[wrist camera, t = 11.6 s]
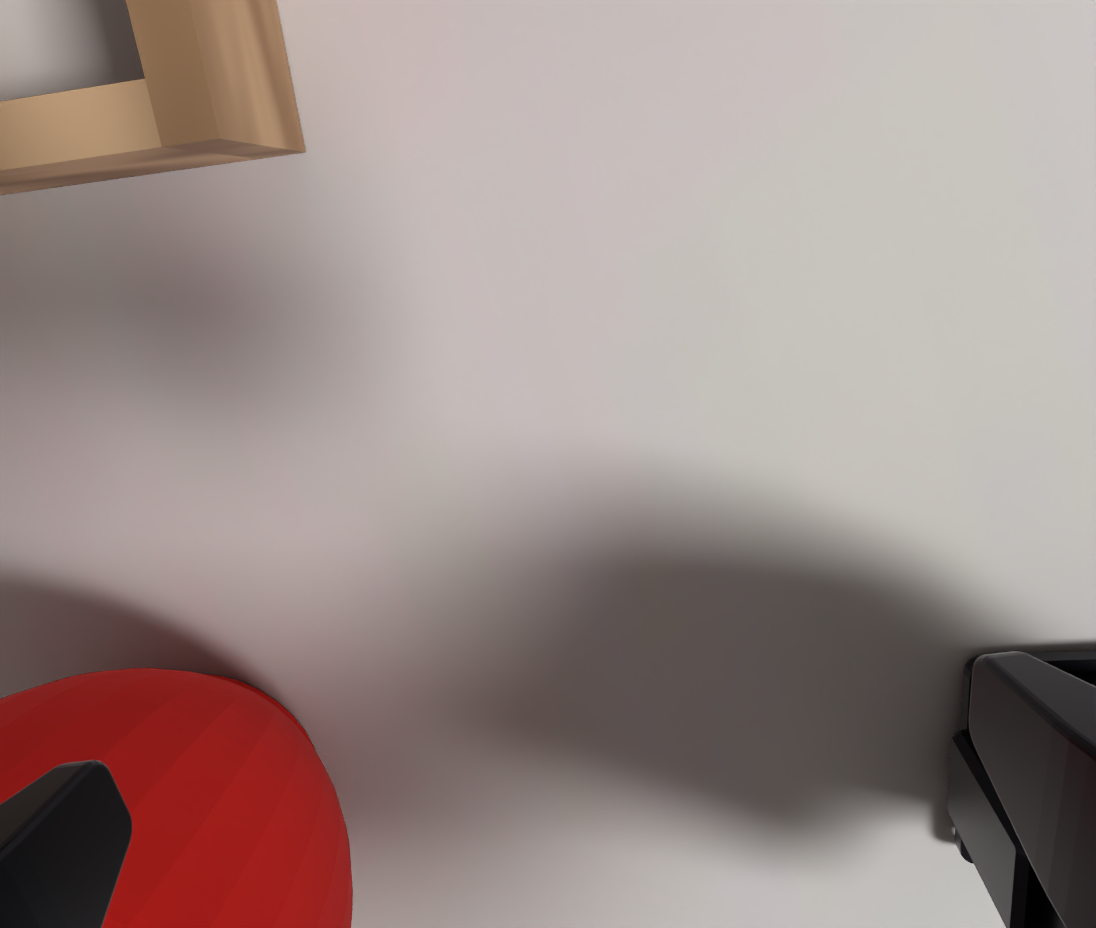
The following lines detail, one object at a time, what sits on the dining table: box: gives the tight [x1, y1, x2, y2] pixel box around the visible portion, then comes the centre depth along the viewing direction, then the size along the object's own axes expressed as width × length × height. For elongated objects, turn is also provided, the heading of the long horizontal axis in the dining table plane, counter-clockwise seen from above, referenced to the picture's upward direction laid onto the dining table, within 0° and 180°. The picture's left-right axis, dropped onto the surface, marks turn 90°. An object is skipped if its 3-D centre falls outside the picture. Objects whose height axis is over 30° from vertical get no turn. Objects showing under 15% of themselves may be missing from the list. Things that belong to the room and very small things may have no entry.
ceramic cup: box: [0, 668, 353, 928], centre depth 20 cm, size 13×17×10 cm
